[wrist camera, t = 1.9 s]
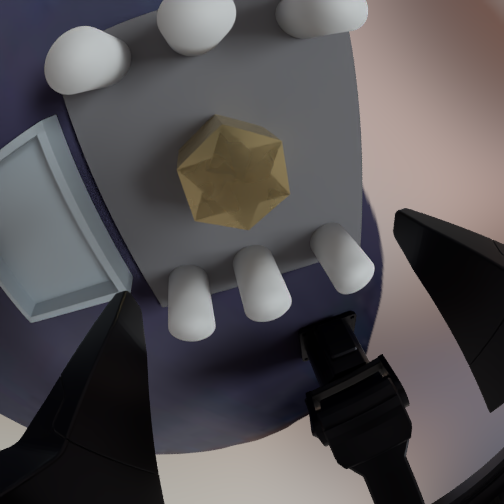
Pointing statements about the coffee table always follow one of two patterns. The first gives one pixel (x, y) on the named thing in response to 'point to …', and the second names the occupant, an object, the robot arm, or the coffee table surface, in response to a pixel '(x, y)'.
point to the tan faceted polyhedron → (232, 173)
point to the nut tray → (52, 230)
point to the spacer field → (233, 106)
